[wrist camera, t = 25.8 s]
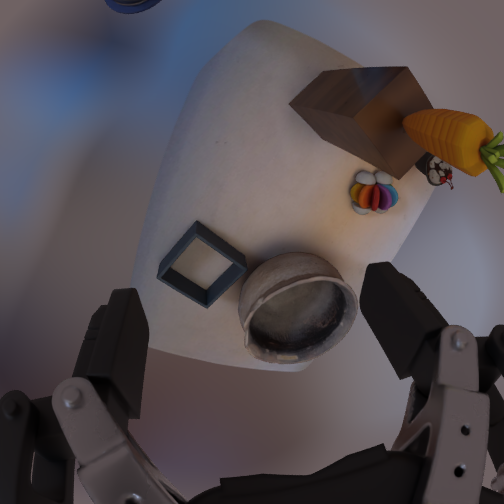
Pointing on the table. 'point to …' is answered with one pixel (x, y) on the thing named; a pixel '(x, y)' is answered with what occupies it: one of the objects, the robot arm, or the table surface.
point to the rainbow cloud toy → (373, 192)
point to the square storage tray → (189, 287)
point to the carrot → (458, 140)
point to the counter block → (366, 114)
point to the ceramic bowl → (295, 308)
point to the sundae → (434, 169)
